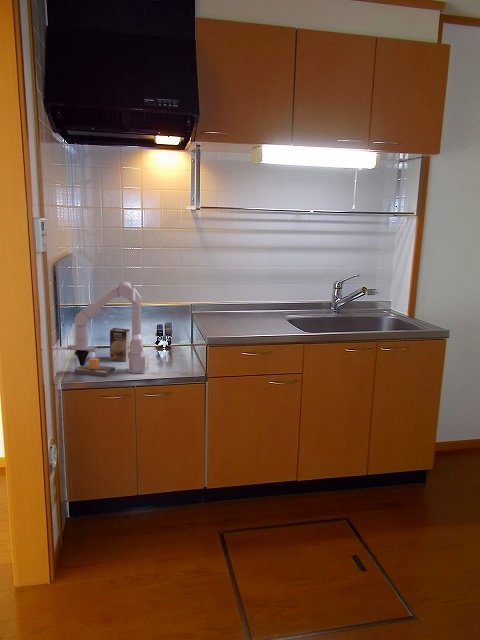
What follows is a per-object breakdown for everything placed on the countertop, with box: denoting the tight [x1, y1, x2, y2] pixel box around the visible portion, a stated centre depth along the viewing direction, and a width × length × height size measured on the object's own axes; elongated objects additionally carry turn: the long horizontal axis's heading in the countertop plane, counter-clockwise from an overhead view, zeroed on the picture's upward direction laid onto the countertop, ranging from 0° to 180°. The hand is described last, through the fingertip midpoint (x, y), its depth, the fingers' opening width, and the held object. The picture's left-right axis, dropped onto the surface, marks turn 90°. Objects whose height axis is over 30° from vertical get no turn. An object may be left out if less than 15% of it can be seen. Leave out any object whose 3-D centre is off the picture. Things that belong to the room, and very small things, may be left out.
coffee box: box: [109, 327, 131, 362], centre depth 264 cm, size 9×6×16 cm
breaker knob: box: [88, 357, 100, 369], centre depth 242 cm, size 4×3×4 cm
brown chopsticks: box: [85, 363, 116, 371], centre depth 249 cm, size 16×2×1 cm, turn 80°
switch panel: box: [74, 364, 114, 378], centre depth 243 cm, size 16×8×2 cm, turn 80°
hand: (82, 365), depth 243 cm, fingers closed
